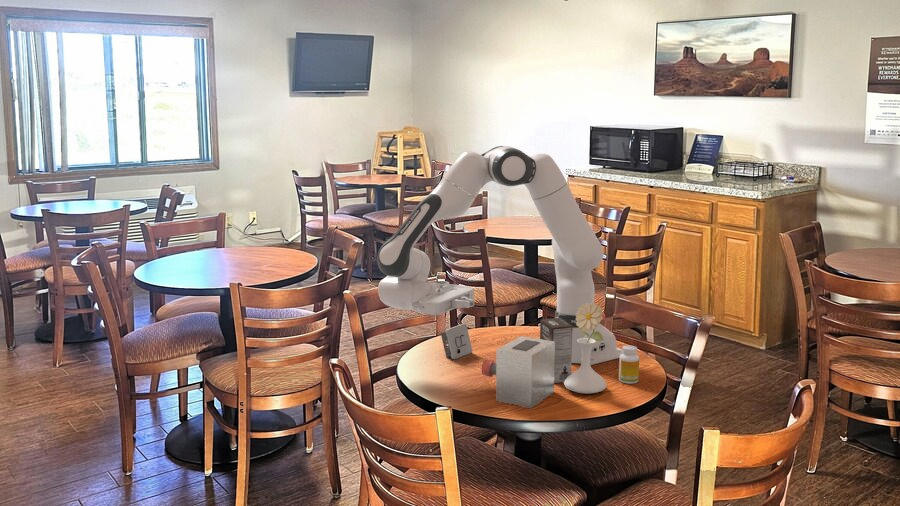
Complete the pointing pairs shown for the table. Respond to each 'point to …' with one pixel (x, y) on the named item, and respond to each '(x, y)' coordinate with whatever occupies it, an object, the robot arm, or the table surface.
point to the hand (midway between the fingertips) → (471, 303)
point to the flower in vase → (587, 352)
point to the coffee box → (559, 345)
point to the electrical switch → (456, 341)
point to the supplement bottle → (629, 365)
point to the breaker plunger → (489, 368)
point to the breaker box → (525, 371)
